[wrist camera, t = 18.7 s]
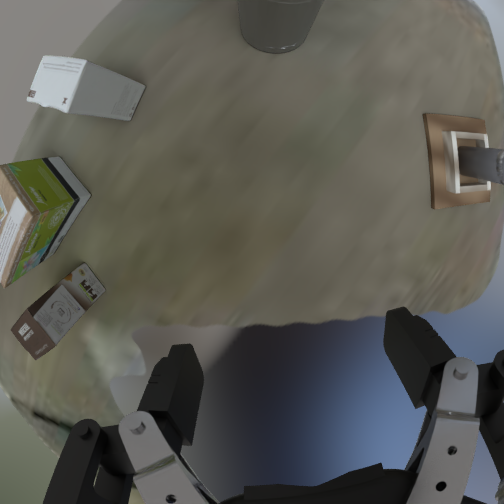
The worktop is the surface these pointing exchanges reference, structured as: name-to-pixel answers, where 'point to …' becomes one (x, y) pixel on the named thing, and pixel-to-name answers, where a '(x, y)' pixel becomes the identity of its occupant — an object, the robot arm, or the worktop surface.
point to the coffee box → (57, 311)
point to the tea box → (35, 212)
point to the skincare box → (84, 88)
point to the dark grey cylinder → (482, 163)
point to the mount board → (454, 160)
